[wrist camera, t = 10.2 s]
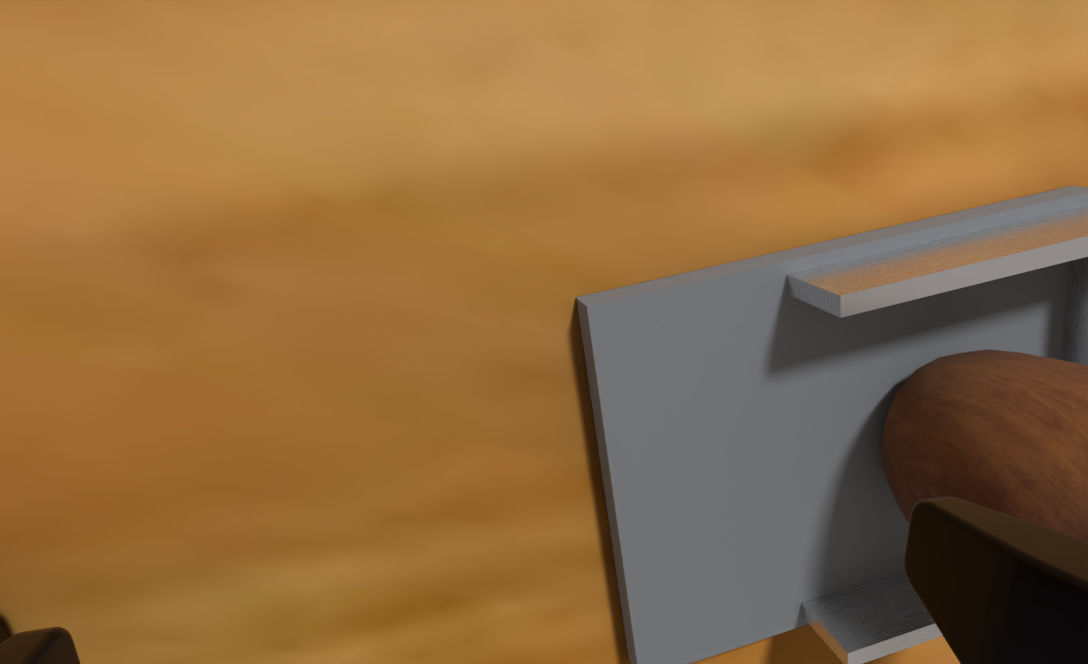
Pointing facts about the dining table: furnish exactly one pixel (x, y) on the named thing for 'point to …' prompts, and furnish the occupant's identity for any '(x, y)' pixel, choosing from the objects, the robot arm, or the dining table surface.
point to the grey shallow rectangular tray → (802, 418)
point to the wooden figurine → (993, 437)
